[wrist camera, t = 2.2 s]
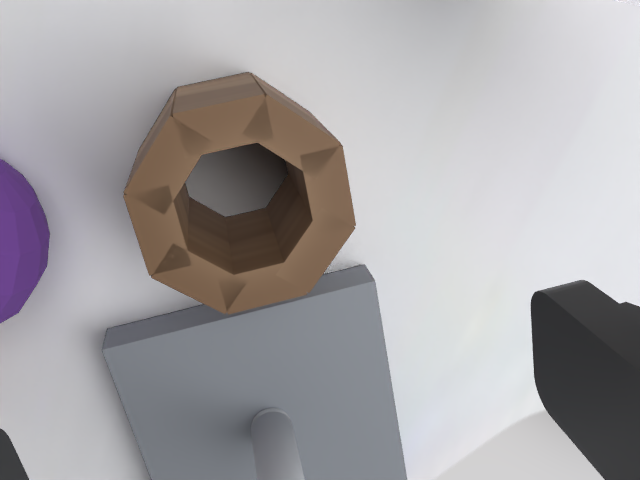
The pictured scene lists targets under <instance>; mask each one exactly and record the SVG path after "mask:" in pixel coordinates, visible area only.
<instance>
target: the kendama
mask: <svg viewBox="0 0 640 480" xmlns="http://www.w3.org/2000/svg"><path fill="white" fill-rule="evenodd" d="M49 236H50V233H49V228H48V224H47V220H46V216H45V213H44V211H43V209H42V207H41V205H40V203H39V200H38V198H37V196H36V194H35V192H34V189H33V188H32V187H31V185H30V184H29V183H28V181H27V180H26V179H25V178H24V176H23V175H22V174H20V173H19V172H18V171H17V170H15V169H14V168H13V167H12V166H10V165H9V164H8V163H7V162H5V161H3V160H1V159H0V323H2V322H4V321H5V320H7V319H9V318H10V317H12V316H14V315H15V314H17V313H19V311H20V310H21V308H22V307H23V305H24V303H25V302H26V300H27V299H28V297H29V296H30V294H31V293H32V291H33V290H34V288H35V287H36V285H37V283H38V282H39V280H40V278H41V276H42V274H43V272H44V270H45V269H46V267H47V260H48V248H49Z"/></svg>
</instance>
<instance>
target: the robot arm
mask: <svg viewBox="0 0 640 480" xmlns="http://www.w3.org/2000/svg"><path fill="white" fill-rule="evenodd" d="M531 322H532V342H533V362H534V378H535V383H536V387H537V390H538V393H539V396H540V399H541V401H542V403H543V405H544V407H545V409H546V410H547V412H548V413H549V415H550V416H551V417H552V418H553V419H554V420H555V422H556V423H557V424H558V425H559V427H560V428H561V429H562V430H563V431H564V432H565V433H566V434H567V436H568V437H569V438H570V439H571V440H572V442H573V443H574V444H575V445H576V446H577V448H578V449H579V450H580V451H581V452H582V453H583V455H584V456H585V457H586V458H587V459H588V461H589V462H590V463H591V464H592V465H593V466H594V468H596V470H597V471H598V472H599V473H600V474H601V476H602V477H603V478H604V479H605V480H640V307H639V306H636V305H633V304H630V303H628V302H624V303H621V304H619V303H618V302H616V301H615V300H613V299H612V298H611V297H609V296H608V295H606V294H605V293H604V292H602V291H601V290H599V289H598V288H597V287H595V286H594V285H592V284H591V283H589V282H588V281H585V280H579V281H575V282H571V283H567V284H564V285H560V286H556V287H552V288H548V289H544V290H540V291H537V292H535V293H534V294H533V296H532V299H531ZM0 480H29V478H28V476H27V474H26V472H25V470H24V468H23V465H22V463H21V461H20V459H19V457H18V455H17V453H16V450H15V448H14V446H13V444H12V442H11V440H10V438H9V436H8V435H7V434H6V432H5V431H3V430H2V429H0Z"/></svg>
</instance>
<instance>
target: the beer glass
mask: <svg viewBox="0 0 640 480" xmlns="http://www.w3.org/2000/svg"><path fill="white" fill-rule="evenodd" d="M614 1H618V2H623V3H627V4H631V5H636V6H640V0H614Z"/></svg>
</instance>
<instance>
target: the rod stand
mask: <svg viewBox="0 0 640 480" xmlns="http://www.w3.org/2000/svg"><path fill="white" fill-rule="evenodd" d="M102 352H103V355H104V357H105V360H106V362H107V365H108V368H109V370H110V373H111V375H112V378H113V381H114V383H115V386H116V389H117V391H118V394H119V396H120V399H121V402H122V404H123V407H124V409H125V412H126V415H127V417H128V420H129V423H130V425H131V428H132V430H133V433H134V436H135V438H136V441H137V444H138V446H139V449H140V451H141V454H142V457H143V459H144V462H145V464H146V467H147V470H148V472H149V475H150V478H151V480H407V475H406V469H405V463H404V457H403V451H402V444H401V438H400V432H399V426H398V420H397V413H396V407H395V401H394V395H393V389H392V382H391V376H390V370H389V364H388V358H387V351H386V345H385V339H384V333H383V327H382V321H381V314H380V308H379V302H378V296H377V290H376V283H375V280H374V278H373V277H372V275H371V274H370V272H369V270H368V269H367V267H366V266H365V265H361V266H357V267H353V268H349V269H345V270H341V271H337V272H333V273H329V274H325V275H322V276H321V277H320V279H319V280H318V282H317V283H316V284H315V286H314V287H313V289H312V290H311V292H310V293H308V292H307V295H304V296H300V297H296V298H292V299H288V300H284V301H280V302H276V303H272V304H268V305H264V306H260V307H256V308H252V309H249V310H245V311H241V312H237V313H233V314H229V315H228V313H226V314H223V313H221V312H219V311H217V310H215V309H213V308H211V307H209V306H207V305H201V306H197V307H193V308H189V309H185V310H181V311H177V312H173V313H169V314H165V315H161V316H157V317H153V318H149V319H145V320H141V321H137V322H133V323H129V324H125V325H121V326H117V327H113V328H109V329H107V332H106V336H105V340H104V343H103V347H102Z"/></svg>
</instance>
